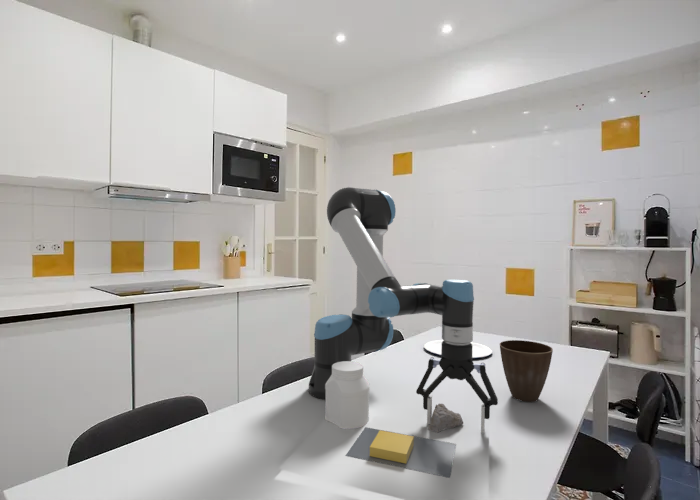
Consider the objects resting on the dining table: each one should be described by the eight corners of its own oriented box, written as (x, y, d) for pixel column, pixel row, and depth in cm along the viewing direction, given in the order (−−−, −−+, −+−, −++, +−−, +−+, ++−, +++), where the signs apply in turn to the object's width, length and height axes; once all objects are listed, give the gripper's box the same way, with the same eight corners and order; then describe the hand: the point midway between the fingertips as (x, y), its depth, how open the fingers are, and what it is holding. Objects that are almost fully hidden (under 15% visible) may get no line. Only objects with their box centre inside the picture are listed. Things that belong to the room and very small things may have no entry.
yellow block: (379, 439, 92) (369, 456, 85) (379, 430, 92) (369, 446, 85) (413, 445, 89) (406, 464, 82) (413, 436, 89) (406, 454, 82)
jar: (375, 425, 102) (376, 367, 102) (348, 437, 96) (348, 375, 95) (345, 410, 110) (346, 357, 110) (318, 420, 104) (319, 364, 104)
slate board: (345, 461, 85) (345, 455, 85) (365, 431, 98) (365, 427, 98) (449, 483, 77) (450, 477, 77) (456, 448, 91) (456, 443, 91)
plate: (502, 362, 159) (502, 357, 159) (430, 360, 159) (430, 356, 159) (479, 343, 188) (480, 339, 188) (418, 342, 189) (418, 338, 188)
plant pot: (542, 412, 111) (543, 356, 111) (490, 397, 121) (491, 346, 121) (557, 397, 122) (558, 346, 122) (509, 385, 132) (510, 337, 132)
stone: (451, 443, 94) (452, 418, 93) (420, 433, 98) (420, 409, 98) (465, 427, 102) (466, 405, 101) (436, 419, 106) (436, 397, 106)
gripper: (405, 340, 100) (404, 424, 100) (510, 350, 91) (508, 442, 92) (411, 334, 107) (410, 412, 107) (508, 342, 98) (507, 428, 99)
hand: (455, 426), depth 99 cm, fingers open, 12 cm apart
